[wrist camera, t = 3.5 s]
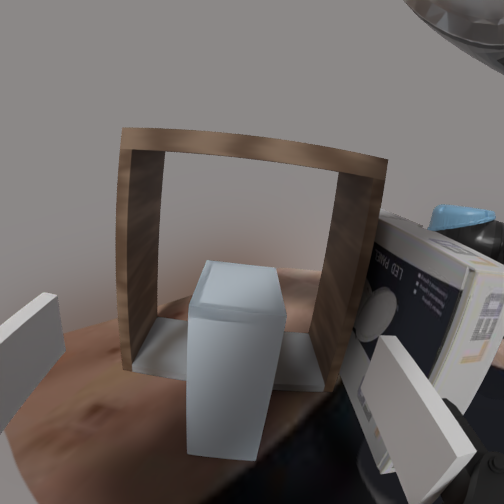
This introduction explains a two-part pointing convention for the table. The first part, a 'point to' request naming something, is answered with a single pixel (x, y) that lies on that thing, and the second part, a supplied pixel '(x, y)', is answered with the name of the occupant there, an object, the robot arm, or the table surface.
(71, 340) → the table surface
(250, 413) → the tall grey lidded box
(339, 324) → the walnut shelf
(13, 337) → the robot arm
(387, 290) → the packaging
